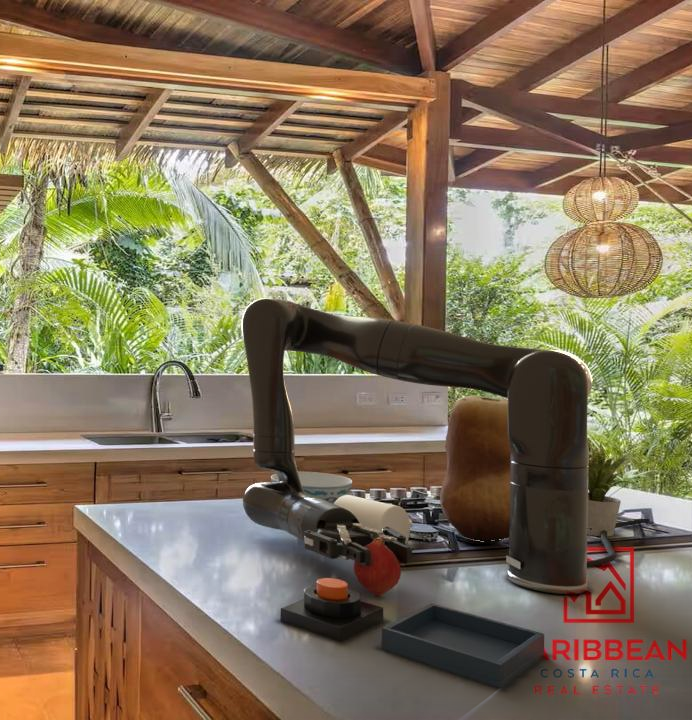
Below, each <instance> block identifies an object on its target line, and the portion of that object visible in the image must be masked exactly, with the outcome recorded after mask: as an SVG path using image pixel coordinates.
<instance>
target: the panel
mask: <svg viewBox="0 0 692 720" xmlns="http://www.w3.org/2000/svg"><path fill="white" fill-rule="evenodd" d="M303 591H304V592H303V599H300V600H297V601H295V602H292V603H290V604H288V605H286V606H283V607H281V608H280V622H281V623H284V624H287V625H289V626H292V627H295V628H299V629H302V630H305V631H307V632H310V633H313V634H316V635H319V636H322V637H325V638H328V639H331V640H333V641H336V642H339V643H341V642H343V641H346V640H347V639H350V638H351V637H353V636H354V637H355V635H358V634H359V633H362V632H364V631H366V630H368V629H369V628H370V629H371V627H374V626H376V625H377V624H380V623H382V622H384V607H383V606H379V605H376V604H372V603H370V602H367V601H362V599H361V598H362V597H361V596H362V595H361V594H360V593H359V592H357V591H356V590H354V589H352V588H348V598H347V599H339V600H337V599H328V598H324V597H320V596H318V595H317V584H312V585H309V586H307V587H305V588H304V590H303Z"/></svg>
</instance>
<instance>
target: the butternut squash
mask: <svg viewBox="0 0 692 720" xmlns="http://www.w3.org/2000/svg"><path fill="white" fill-rule="evenodd" d="M444 445H445V446H444V449H445V452H446V458H447V459H446V460H447V462H446V463H447V467H446V472H445V475H444V478H443V482H442V485H441V488H440V490H439V503H440V508H441V511H442V513H443V515H444V517H445V519H446V520H447V521H448V522H449V523H450V526H452V527H453V528H454V529H455V530H456V531H457V532H458V533H459V535H460V536H461V537H462V538H463V539H464V540H465V541H466V542H467V543H469V544H487V543H488V544H492V543H499V542H501V541H502V540H499V539H503V540H505V539H504V538H506V539H509V528H510V461H511V460H510V445H509V440H508V398H500V397H499V398H498V397H487V396H481V395H467V396H463V397H461V398H459V399H458V400H457V401H455V403H454V404H453V406H452V408H451V410H450V414H449V419H448V423H447V431H446V436H445V444H444ZM463 536H464V537H467V538H470V539H474V540H480V541H484V542H480V541H473V540H470V539H466V538H464V537H463ZM491 540H495V541H491Z"/></svg>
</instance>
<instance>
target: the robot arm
mask: <svg viewBox="0 0 692 720" xmlns="http://www.w3.org/2000/svg"><path fill="white" fill-rule="evenodd" d="M241 332H242V339H243V340H242V341H243V345H244V346H243V347H244V351H245V357H246V362H247V370H248V376H249V377H248V378H249V383H250V384H249V385H250V393H251V400H252V401H251V402H252V403H251V404H252V422H253V423H252V427H253V428H252V434H253V436H252V440H253V441H252V442H253V444H252V445H253V447H252V448H253V462H254V465H255V466H256V467H258V468H259V469H263V470H267V471H273V472H275V474H277V475H278V478H279V482H272V481H270V482H256V483H253V484H251V485H250V486H248V487H247V488H246V490H245V491H244V494H243V497H242V507H243V510H244V512H245V514H246V515H247V518H249V519H250V520H251V521H252V522H253V523H254V524H257V525H259V526H261V527H266V528H269V529H274V530H280V531H284V532H287V533H288V534H290V535H292V536H294V537H295V538H297V539H298V540H299V541H300V542H302V543H303V544H304V546H303V547H304V549H305V550H308V551H311V552H313V553H315V554H318V555H321V556H323V557H325V558H327V559H328V558H329V559H331V560H334V559H338V558H342V560H343V559H344V560H347V561H348V560H352V561H354V563H355V562H357V563H359V564H361V565H363V566H370V565H371V551H370V550H369V549H367V548H365V546H366V545H368V544H370V543H371V542H372V541H374V540H375V539H376V538H379V537H380V538H382V539H383V545H384V546H386V547H387V548H388V549H390V550H391V551H392V552H393V553H394V554H395V556H396V557H397V559H398V561H399V563H402V564H405V565H406V564H407V565H408V564H412V561H413V549H412V548H411V546H409V545H407V544H406V545H405V541H406V537H405V536H404V535H402V534H401V533H399V532H397V531H396V530H394V529H392V528H390V527H388V526H386V527H383V530H382V531H380V530H376V529H372V528H368V527H366V526H365V525H363V524H360V523H359V521H358V520H357V518H356V516H355V515H354V514H353V513H352V512H350V511H349V510H347V509H345V508H342V507H340V506H337V505H335V504H333V503H330V502H328V501H325V500H322V499H318V498H314V497H311V496H309V495H307V494H304V491H303V488H302V485H301V482H300V478H299V474H298V472H299V471H298V466H297V462H296V457H295V455H296V454H295V453H296V451H295V448H296V447H295V446H296V445H295V443H296V441H295V420H294V414H293V410H292V406H291V402H290V399H289V396H288V392H287V387H286V382H285V381H286V380H285V374H284V371H285V370H284V362H285V361H284V359H285V351H286V352H300V353H306V354H314V355H320V356H323V357H324V356H325V357H329V358H332V359H334V360H336V361H338V362H339V361H340V362H341V363H343V364H346V365H348V366H350V367H353V368H355V369H358V370H360V371H364V372H367V373H370V374H373V375H377V376H379V377H384V378H388V379H393V380H397V381H401V382H407V383H413V384H418V385H424V386H425V385H426V386H435V387H445V388H446V387H448V388H460V389H468V390H474V391H475V390H476V391H481V392H484V393H489V394H492V395H496V396H498V397H499V396H500V397H502V398H505V399H507V400H508V440H509V445H510V460H511V461H510V528H509V537H508V555H505V562H506V563H507V564H508V569H507V579H508V580H509V581H510V582H512V583H513V584H515V585H518V586H520V587H523V588H525V589H529V590H534V591H538V592H543V593H549V594H558V595H577V594H583V593H586V592H587V591H588V580H587V575H588V573H587V570H588V568H593V567H599V566H603V565H607V564H609V563H612V562H614V561H615V559H617V553H616V551H615V550H614V548H613V546H612V544H611V542H610V540H609V538H608V536H607V531H605V530H604V531H602V532H601V536H600V540H601V543H602V544H603V546H604V548H605V550H606V552H607V554H608V555H606V556H604V557H601V558H597V559H593V560H588V534H587V528H588V492H589V490H588V465H589V460H590V459H589V458H590V447H589V441H588V439H589V438H588V403H589V402H588V401H589V400H588V399H589V396H590V395H591V392H592V388H593V377H592V374H591V373H592V372H590V369H589V367H588V366H587V364H585V362H584V361H583V360H582V359H580V358H579V357H577V356H576V355H575V354H572V353H570V352H568V351H565V350H560V349H541V348H540V349H539V348H529V347H528V348H527V347H520V346H519V347H518V346H509V345H500V344H493V343H489V342H484V341H480V340H476V339H473V338H470V337H467V336H463V335H460V334H456V333H453V332H450V331H446V330H443V329H439V328H434V327H430V326H426V325H421V324H418V323H412V322H406V321H400V320H395V319H390V318H389V319H388V318H381V317H374V316H373V317H371V316H355V315H353V316H352V315H340V314H333V313H329V312H326V311H321V310H319V309H314V308H311V307H308V306H305V305H302V304H299V303H296V302H293V301H290V300H287V299H280V298H272V297H263V298H258V299H256V300H254V301H253V302H251V303H250V304H249V305H248V306H247V307H246V308H245V310H244V312H243V315H242V318H241ZM642 518H643V517H642ZM642 518H641V517H640V518H634V519H633V518H632V519H631V520H634V521H628V522H623V523H622V522H620V521H616V525H615V529H618V528H622V527H626V526H630V525H639V524H647V523H650V519H642ZM604 540H605V541H604Z"/></svg>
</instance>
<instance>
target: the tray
mask: <svg viewBox="0 0 692 720" xmlns="http://www.w3.org/2000/svg"><path fill="white" fill-rule="evenodd" d="M381 649H382V650H384V651H387V652H391V653H394V654H396V655H399V656H403V657H406V658H409V659H412V660H413V661H414V660H415V661H418V662H420V663H423V664H427V665H429V666H432V667H436V668H438V669H442V670H445V671H447V672H450V673H453V674H456V675H459V676H462V677H465V678H469V679H470V680H471V679H472V680H475V681H477V682H480V683H483V684H486V685H490V686H492V687H495V688H498V689H502V688H503V687H504V686H506V685H507V684H508V683H510V682H511V681H513V679H515V678H516V677H517V676H519V675H520V674H521V673H523V672H524V671H526V669H528V668H529V667H531V665H533V664H534V663H536V662H537V661H539V659H542V657H543V656H545V633H543V632H539V631H535V630H532V629H528V628H524V627H521V626H517V625H513V624H510V623H506V622H502V621H498V620H495V619H492V618H487V617H484V616H480V615H477V614H473V613H469V612H466V611H461V610H458V609H454V608H451V607H447V606H444V605H440V604H437V603H432V602H431V603H428V604H427V605H425V606H423V607H421V608H419V609H417V610H414V611H413V612H411V613H408V614H407V615H404V616H403V617H400V618H399V619H397V620H394V621H393V622H391V623H389V624H387V625H385V626H382V627H381Z"/></svg>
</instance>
